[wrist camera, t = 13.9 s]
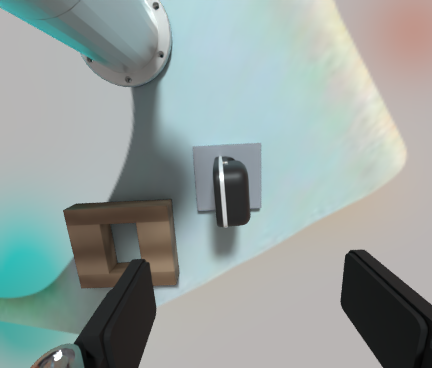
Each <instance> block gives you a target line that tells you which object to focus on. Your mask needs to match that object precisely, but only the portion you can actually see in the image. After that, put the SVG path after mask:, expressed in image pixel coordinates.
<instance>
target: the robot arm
mask: <svg viewBox="0 0 432 368" xmlns="http://www.w3.org/2000/svg"><path fill="white" fill-rule="evenodd" d="M0 8H2V9H3V10H5V11H7V12H9V13H11V14H13V15H15V16H16V17H18V18H20V19H21V20H23V21H25V22H27V23H28V24H30V25H32V26H34V27H36V28H37V29H39V30H41V31H43V32H45V33H46V34H48V35H50V36H52V37H53V38H55V39H57V40H59V41H61V42H62V43H64V44H66V45H68V46H69V47H71V48H73V49H75V50H76V51H78V52H80V53H81V56H82V57H83V59H84V61H85V62H86V64H87V65H88V66H89V67H90V68H91V69H92V70H93V72H95V73H96V74H97V75H98V76H100V77H101V78H102V79H104V80H106V81H108V82H110V83H113V84H115V85H118V86H123V87H135V86H140V85H143V84H145V83H148V82H150V81H151V80H152V79H154V78H155V77H156V76H157V75H158V74H159V73H160V72H161V71H162V70H163V68H164V66H165V64H166V63H167V60H168V58H169V55H170V51H171V45H172V32H171V27H170V22H169V19H168V16H167V13H166V11H165V9H164V7H163V5H162V3H161V2H160V0H0ZM157 8H159V9H158V10H156V9H157ZM161 55H164V57H163V58H161ZM92 60H93V62H92ZM130 79H132V80H131V82H129V80H130ZM341 306H342V309H343V310H344V312H345V313H346V314H347V316H348V318H349V319H350V321H351V322H352V323H353V325H354V326H355V327H356V329H357V331H358V332H359V333H360V335H361V336H362V338H363V339H364V341H365V342H366V343H367V345H368V347H369V348H370V349H371V351H372V352H373V353H374V355H375V357H376V358H377V359H378V361H379V362H380V364H381V365H382V367H383V368H432V305H431V304H430V303H429V302H427V301H426V300H425V299H424V298H422V297H421V296H420V295H419V294H418V293H417V292H415V291H414V290H413V289H412V288H410V287H409V286H408V285H407V284H406V283H404V282H403V281H402V280H401V279H399V278H398V277H397V276H396V275H395V274H393V273H392V272H391V271H390V270H389V269H387V268H386V267H385V266H384V265H382V264H381V263H380V262H379V261H378V260H376V259H375V258H373V256H371V255H370V254H369V253H368V252H366V251H365V250H350V251H349V253H348V254H346V255H345V263H344V272H343V282H342V292H341ZM155 316H156V303H155V296H154V289H153V283H152V276H151V269H150V263H149V262H146V260H145V259H133V260H132V261H131V262H130V263H129V265H128V266H127V268H126V269H125V271H124V273H123V274H122V276H121V277H120V279H119V280H118V282H117V283H116V285H115V286H114V288H113V289H112V290H110V291H109V292H108V293H107V295H106V296H105V298H104V299H103V301H102V302H101V304H100V305H99V307H98V308H97V310H96V311H95V313H94V314H93V316H92V317H91V319H90V320H89V322H88V323H87V325H86V326H85V327H84V329H83V330H82V332H81V333H80V335H79V336H78V338H77V339H76V341H75V342H74V344H64V345H60V346H58V347H56V348H53V349H51V350H50V351H48V352H47V353H45V354H44V355H43V356H41V357H40V358H39V359H38V360H37V361H36V362H35V363H34V364H33V365H32V366H31V368H138V367H139V364H140V361H141V358H142V355H143V352H144V349H145V346H146V343H147V340H148V337H149V334H150V331H151V328H152V325H153V322H154V319H155Z"/></svg>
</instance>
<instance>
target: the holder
mask: <svg viewBox="0 0 432 368" xmlns="http://www.w3.org/2000/svg"><path fill="white" fill-rule="evenodd" d="M63 212H64V217H65V220H66V225H67V229H68V233H69V237H70V242H71V246H72V250H73V254H74V259H75V263H76V267H77V271H78V276H79V280H80V284H81V288H104V287H114V286H115V285H116V283H117V282H118V280H119V279H120V277H121V276H122V274H123V273H124V271H125V269H126V268H127V266H128V265H129V263H130V262H125V263H117V257H116V252H115V247H114V241H113V236H112V230H111V225H110V224H120V223H136V227H137V234H138V240H139V247H140V253H141V259H145V260H146V262H149V263H150V269H151V276H152V283H153V286H158V285H176V283H177V280H178V276H179V265H178V256H177V247H176V237H175V228H174V219H173V210H172V200H171V199H166V200H145V201H124V202H103V203H84V204H83V203H82V204H75V205H73V206H71V207H69V208H67V209H65V210H63Z"/></svg>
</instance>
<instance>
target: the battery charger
mask: <svg viewBox="0 0 432 368" xmlns="http://www.w3.org/2000/svg"><path fill="white" fill-rule="evenodd" d="M213 185H214V196H215V207H216V218H217V225H218V226H219V227H224V228H228V226H240V225H245V224H247V223H248V221H249V220H250V196H249V178H248V172H247V169H246V167H245V165H244V164H243V163H242V162H241V161H235V159H234V158H232V157H227V156H223V157H222V156H219V157H216V158H215V159H214V164H213Z"/></svg>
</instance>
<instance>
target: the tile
mask: <svg viewBox="0 0 432 368" xmlns="http://www.w3.org/2000/svg"><path fill="white" fill-rule="evenodd" d="M219 156H222V157H223V156H227V157H232V158H234V159H235V161H241V162H242V163H243V164H244V165H245V167H246V169H247V172H248V178H249V196H250V208H261V143H245V144H227V145H208V146H193V158H194V170H195V183H196V196H197V209H198V211H205V210H216V207H215V196H214V185H213V164H214V159H215V158H216V157H219Z"/></svg>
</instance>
